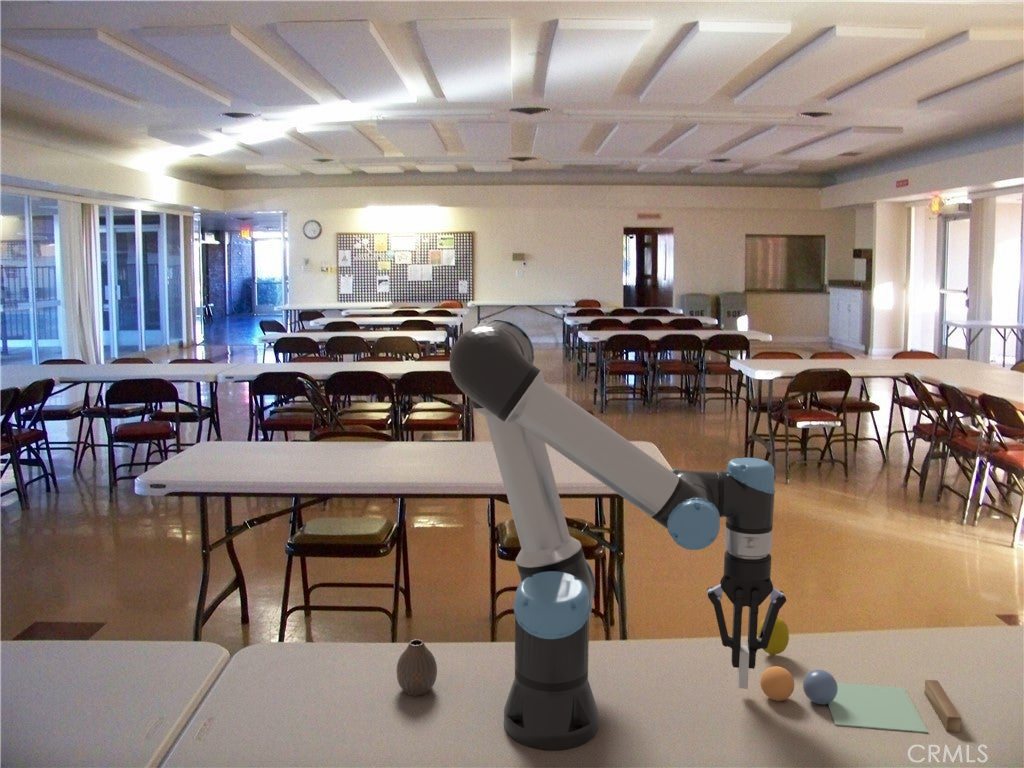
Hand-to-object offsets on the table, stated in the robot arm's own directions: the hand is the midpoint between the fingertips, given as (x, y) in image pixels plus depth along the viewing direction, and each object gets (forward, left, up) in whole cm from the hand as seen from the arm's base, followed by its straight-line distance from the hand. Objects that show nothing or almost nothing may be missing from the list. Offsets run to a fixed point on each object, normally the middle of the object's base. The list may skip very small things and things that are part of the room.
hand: (742, 684), depth 151 cm
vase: (-55, -7, -2) cm, 56 cm away
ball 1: (+6, 0, +1) cm, 6 cm away
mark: (+21, 0, -2) cm, 21 cm away
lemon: (+7, +16, -2) cm, 18 cm away
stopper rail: (+32, 0, -2) cm, 32 cm away
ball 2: (+13, 0, +1) cm, 13 cm away
